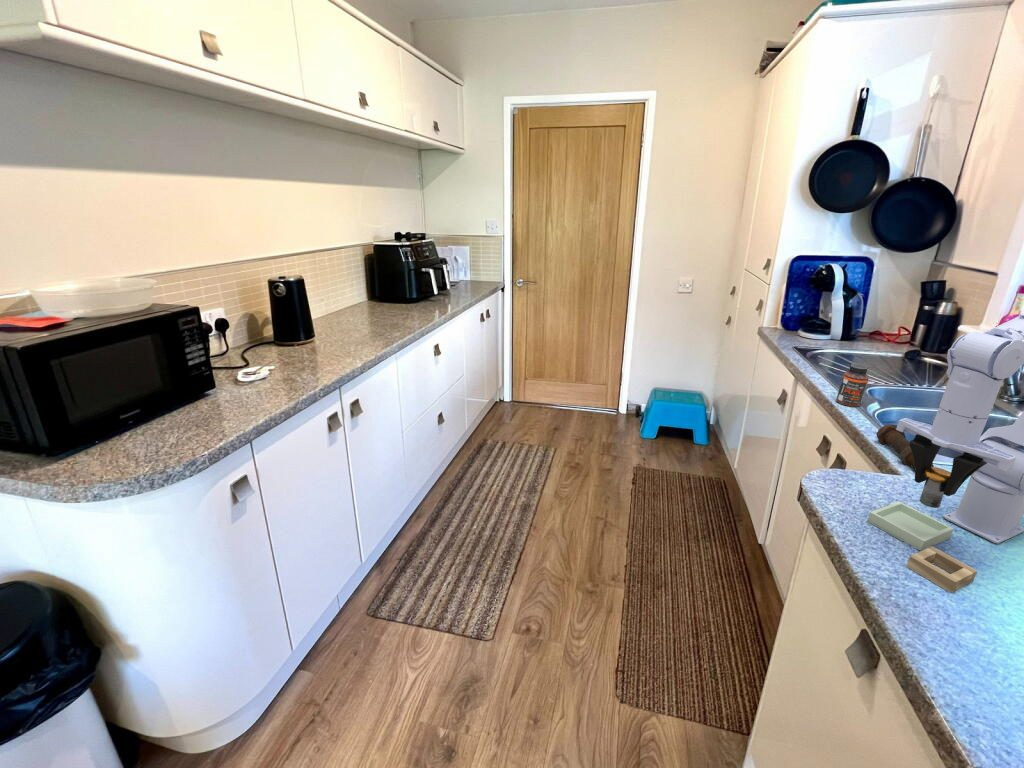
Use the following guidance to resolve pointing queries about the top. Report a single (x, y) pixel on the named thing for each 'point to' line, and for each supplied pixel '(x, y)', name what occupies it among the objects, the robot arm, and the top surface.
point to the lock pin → (934, 486)
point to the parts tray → (910, 525)
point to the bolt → (896, 443)
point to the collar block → (949, 582)
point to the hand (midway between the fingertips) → (934, 487)
